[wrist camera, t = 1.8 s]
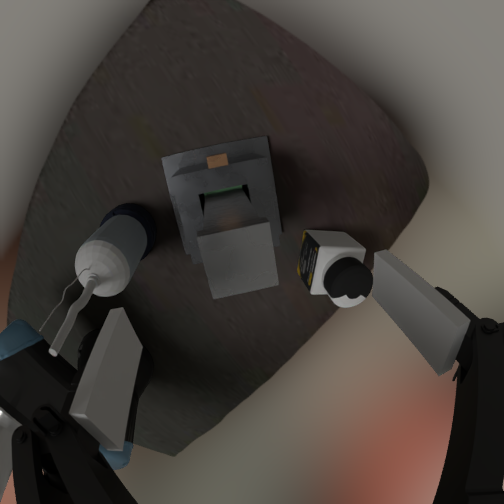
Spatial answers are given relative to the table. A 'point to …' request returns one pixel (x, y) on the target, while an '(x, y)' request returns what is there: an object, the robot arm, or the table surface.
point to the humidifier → (109, 259)
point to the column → (235, 244)
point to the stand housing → (220, 184)
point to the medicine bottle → (334, 267)
